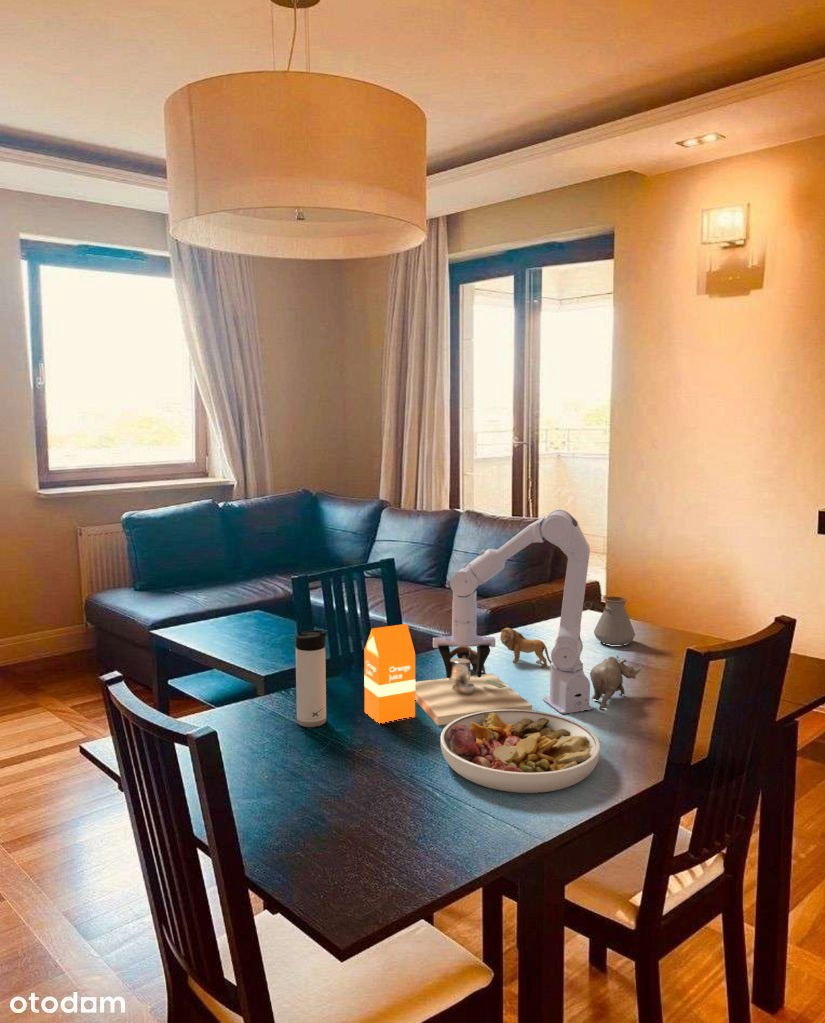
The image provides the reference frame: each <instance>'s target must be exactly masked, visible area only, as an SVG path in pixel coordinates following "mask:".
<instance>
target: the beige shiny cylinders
mask: <svg viewBox="0 0 825 1023" xmlns="http://www.w3.org/2000/svg"><path fill="white" fill-rule="evenodd" d="M470 670H471V664H470V660H468V659H463V658H458V657H457V658H456V657H454V658H451V660H450V678H449V681H451V682H453V683H457V684H458V685H459V686H460V692H461V693H464V694H471V693H473V692H474V685H473V684H471V683H467V682H469V681H470V676H471V672H470Z"/></svg>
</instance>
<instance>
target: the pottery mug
mask: <svg viewBox="0 0 825 1023" xmlns="http://www.w3.org/2000/svg"><path fill="white" fill-rule="evenodd" d="M455 656H457V658H463V659H468V660H470V665H471V667H472V670H473V671H476V670H477V651H475V650H473V649H472V648H471V647H456V648H455V647H454V648H453V650H450V660H451V659H453V657H455ZM470 673H471V669H470ZM482 674H487V673H486V667H485V665H484V666H483V669H482Z"/></svg>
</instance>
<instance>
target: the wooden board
mask: <svg viewBox="0 0 825 1023" xmlns="http://www.w3.org/2000/svg"><path fill="white" fill-rule="evenodd" d="M467 683H471V684H473V685H474V692H473V693H471V694H464V693H461V692H460V686H459V685H458V684H457V683H453V682H451V681H449V678H447V677H446V678H437V679H430V680H429V679H427V680H419V681H415V700H416V701H415V703H417V704H418V706H420V708H421V709H422V710H423V711H424V712H425V713H426V714H427V715H428V716H429V718H430V719H431V720H432V721H433V722H434V723H435V724H436V726H447V725H448V724H449V723H451V722H452V721H454V720H456V719H458V718H460V717H463V716H466V715H469V714H472V713H477V712H482V711H489V710H502V709H517V710H531V711H533V705H532V703H530V702H528V701H527V700H526V699H525V698H523V696H521V695H520V694H518V692H516V691H515V690H514V689H513V688H511V687H510V686H509V685H507V684H506V683H505V681H503V680H501V679H500V678H499V677H497V676H496V675H495V674H494V673H486V674H483V673H481V677H477V674H474V675H470V681H469V682H467Z"/></svg>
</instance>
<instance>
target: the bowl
mask: <svg viewBox="0 0 825 1023" xmlns="http://www.w3.org/2000/svg"><path fill="white" fill-rule="evenodd" d="M440 749H441V753H442V756H443V758H444V759H445V762H446V763H447V764H448V765H449V766H450V768H451V769H452V770H454V772H456V774H458V775H460V776H461V777H463V778H465V779H466V780H468V781H470V782H473V783H474V784H477V785H479V786H483V787H485V788H488V789H493V790H497V791H502V792H508V793H517V794H518V793H520V794H535V793H536V794H537V793H539V792H540V793H547V792H555V791H559V790H563V789H567V788H569V787H571V786H574V785H577V784H578V783H580V782H582V781H583V780H585V779H586V778H587V777H588V776H589V775H590V774H591V773H592V772H593V771H594V769H595V768H596V766H597V765H598V762H599V759H600V755H601V744H600V740H599V739H598V736H596V734H595V733H594V732H593V731H592V730H590V729H589V728H587V727H586V726H585V725H583V724H581V723H579V722H576V721H575V720H572V719H570V718H567V717H563V716H560V715H556V714H553V713H548V712H544V711H537V710H532V711H531V710H517V709H502V710H489V711H482V712H477V713H472V714H469V715H466V716H463V717H460V718H458V719H456V720H454V721H452V722H451V723H449V724H447V725H445V727H444V728H443V729H442V731H441V733H440Z"/></svg>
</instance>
